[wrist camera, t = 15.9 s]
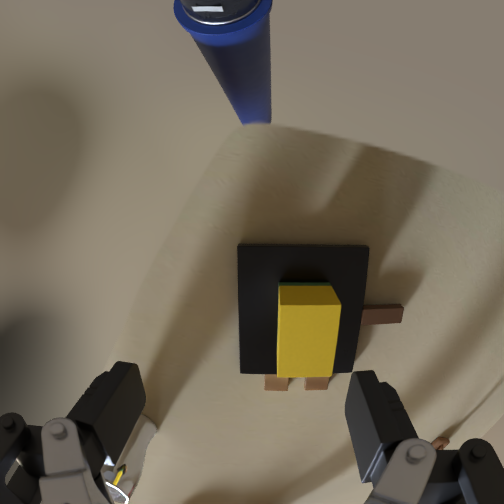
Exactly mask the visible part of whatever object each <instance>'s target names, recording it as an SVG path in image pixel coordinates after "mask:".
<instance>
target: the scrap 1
mask: <svg viewBox="0 0 504 504" xmlns="http://www.w3.org/2000/svg"><path fill="white" fill-rule="evenodd" d="M288 380H289V377H277V374H265V386H264V390H265V391H288Z"/></svg>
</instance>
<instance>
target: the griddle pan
mask: <svg viewBox="0 0 504 504" xmlns="http://www.w3.org/2000/svg"><path fill="white" fill-rule="evenodd" d="M237 256H238V307H239V347H240V373H242V374H277V328H278V294H279V282H299V283H330V284H331V286H332V288H333V290H334V292H335V293H336V295H337V297H338V299H339V301H340V303H341V314H340V322H339V330H338V338H337V345H336V352H335V359H334V365H333V372H332V373H350V372H352V370H353V365H354V359H355V354H356V349H357V343H358V337H359V331H360V324H361V325H372V324H390V323H401V321H402V316H403V310H404V307H403V306H402V305H401V304H389V305H363V303H364V296H365V287H366V279H367V269H368V258H369V247H368V246H366V245H316V244H238V246H237Z"/></svg>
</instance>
